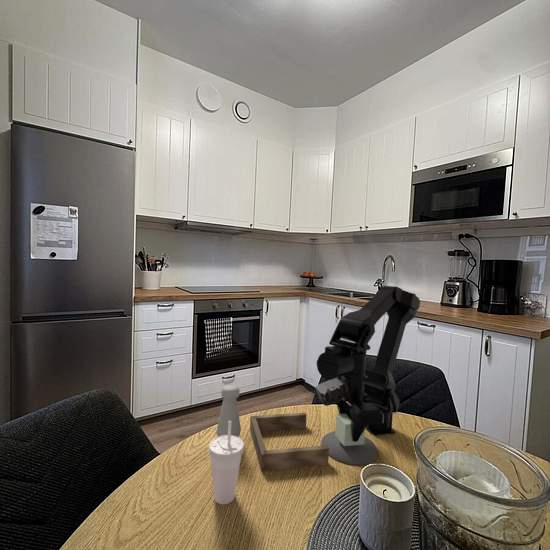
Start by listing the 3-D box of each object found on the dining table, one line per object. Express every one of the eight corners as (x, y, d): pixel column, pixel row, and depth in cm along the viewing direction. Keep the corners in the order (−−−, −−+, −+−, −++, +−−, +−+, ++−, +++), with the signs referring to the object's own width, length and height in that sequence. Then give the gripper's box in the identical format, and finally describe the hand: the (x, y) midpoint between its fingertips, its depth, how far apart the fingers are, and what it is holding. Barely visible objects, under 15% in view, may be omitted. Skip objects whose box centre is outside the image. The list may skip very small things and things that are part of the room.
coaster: (360, 431, 81) (360, 429, 81) (389, 461, 68) (389, 459, 68) (313, 434, 78) (313, 432, 78) (334, 467, 65) (334, 465, 65)
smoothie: (226, 516, 51) (229, 434, 51) (198, 499, 55) (201, 422, 55) (249, 493, 57) (252, 418, 57) (222, 479, 60) (225, 409, 60)
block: (353, 432, 76) (355, 412, 76) (364, 444, 71) (365, 423, 71) (335, 434, 75) (336, 414, 75) (344, 446, 70) (345, 424, 70)
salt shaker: (238, 448, 71) (240, 392, 71) (213, 446, 71) (216, 391, 71) (241, 434, 77) (244, 383, 76) (218, 433, 77) (221, 381, 77)
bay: (304, 425, 83) (305, 412, 82) (328, 464, 67) (329, 448, 66) (249, 429, 79) (250, 416, 79) (260, 471, 63) (261, 454, 63)
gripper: (307, 359, 80) (305, 418, 80) (337, 386, 62) (333, 463, 62) (347, 358, 83) (344, 415, 83) (387, 384, 64) (383, 457, 65)
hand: (349, 434), depth 73 cm, fingers closed on block, 5 cm apart
